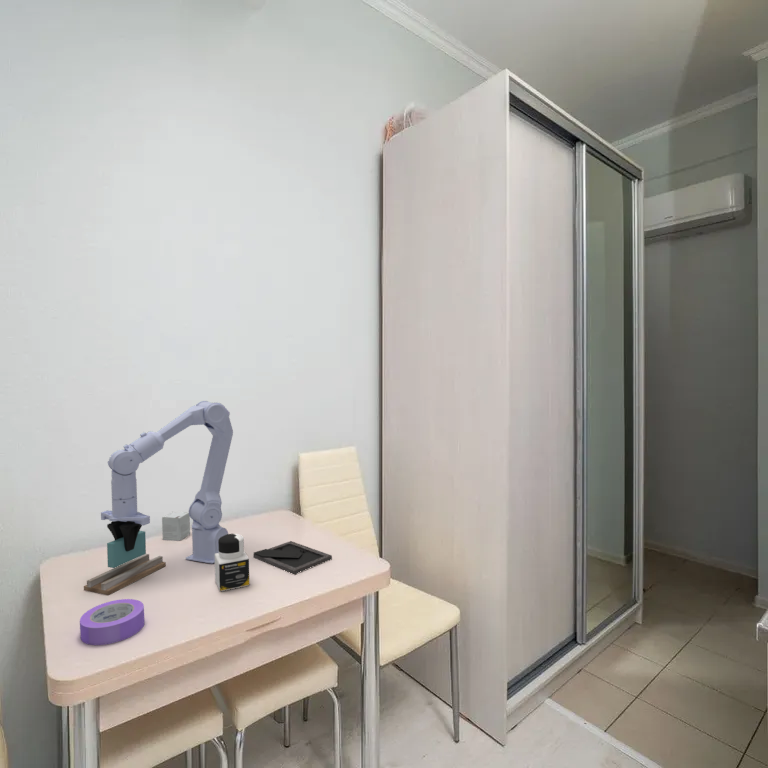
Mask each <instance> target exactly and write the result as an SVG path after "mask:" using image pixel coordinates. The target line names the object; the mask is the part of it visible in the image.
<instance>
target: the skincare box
mask: <svg viewBox="0 0 768 768" xmlns="http://www.w3.org/2000/svg"><path fill="white" fill-rule="evenodd" d="M190 519H191V517H190V516H189V511H188V512H185V511H171V512H169V513H168V514H166V515H164V516H162V518H161V526H162V528H161V529H162V530H161V531H162V540H163V541H177V542H179V541H182V540H183V539H185V538H186V537H188V536H189V535H191V525H190V524H191V521H190Z"/></svg>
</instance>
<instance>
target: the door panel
mask: <svg viewBox="0 0 768 768" xmlns="http://www.w3.org/2000/svg"><path fill="white" fill-rule="evenodd" d="M146 540H147V539H146V531H145V530H140V531H139V533H138V535H137V538H136V542H135V546H134V549H133V550H130V551H128V552H127V551H126V550H125V546H124V538H123V537H122V538H119V539H117V540H115V539H114V540H113V541H110V542H107V543H106V549H107V551H106V553H107V558H106V559H107V568H110V569H113V568H116V567H118V566H120V565H122V564H124V563H127V562H129V561H131V560H133V559H135V558H138V557H140V556H142V555H144V554H147V552H146V551H147V548H146V547H147V546H146V545H147V541H146Z"/></svg>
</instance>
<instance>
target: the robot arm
mask: <svg viewBox="0 0 768 768" xmlns="http://www.w3.org/2000/svg"><path fill="white" fill-rule="evenodd" d="M230 415H231V413H230V411H229V410H228V409H227V408H226V406H225V405H224V404H222V403H220V402H218V401H217V402H211V401H208V400H201V401H199V402H197V403H196V404H195V405H192V406H190V407H188V408H187V409H186V410H185V411H184V412H182V413H181V414H179V415H178V416H177V417H175V418H174V419H173V420H171V421H170V422H168V423H167V424H166V425H164V426H163V427H161V428H160V429H159V430H157V431H153V430H152V431H151V430H150V431H148V432H145V431H143V432H142V433H140V435H139V437H138V438H137V439H135V440H133V441H132V442H131V443H130V444H124V445H123V449H117V450H116V451H114V452H113V453H112V454H111V455H110V457H109V459H108V461H107V466H108V467H109V469H110V470H111V480H110V484H111V485H110V486H111V509H112V510H109V509H108V510H104V511H102V512H100V520H102V521H106V520H109V522H110V523H107V525H106V527H107V529H108V530H109V531H110V533H111V535H112V536H113V539H114V540H117V539H119V538H122V537H123V538H124V546H125V550H126V551H127V552H128V551H130V550H133V549H134V546H135V542H136V538H137V535H138V533H139V531H141V528H142V527H143V526H147V525H148V524H151V516H150V515H149V514H148V515H147V514H144V513H143V512H139V511H138V493H137V491H138V490H137V489H138V487H137V486H138V485H137V472H136V471H137V470H138V469H139V466H140V464H142V463H145V461H147V460H148V459H150V458H151V457H153V456H154V455H156V454H157V453H159V452H160V451H161V450H163V448H164V445H165V442H166V441H168V440H169V439H172V437H174V436H176V435H178V434H180V433H181V432H182V431H184V430H186V429H187V428H189V427H190V426H198V425H199V426H200V425H203V426H204V427H206V428H207V430H208V431H209V432H210V433H211V435H212V438H211V443H210V448H209V449H208V450H209V451H208V455H207V459H206V463H205V469H204V473H203V476H202V482H201V485H200V488H199V491H197V493H196V494H195V496H194V499H193V501H192V503H191V504H190V506H189V508H188V512H189V516H190V519H191V520H192V524H191V536H192V537H191V539H192V540H191V541H192V543H191V544H192V545H191V546H192V554H191V555H187V556H186V557H185V560H187V561H188V560H189V561H195V562H200V563H205V564H215V554H216V553H219V546H218V540H219V539H220V537H222V536H224V535H227V534H229V532H228V530H227V528H225V527H224V526H223V527H222V526H221V525H220V522H221V520H222V517H223V513H222V504H223V501H222V497H221V495H220V491H221V487H222V483H223V479H224V474H225V470H226V467H227V466H226V465H227V461H228V456H229V453H230V449H231V448H230V447H231V444H232V441H233V436H234V430H233V426H232V422H231V419H230Z"/></svg>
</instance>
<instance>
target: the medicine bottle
mask: <svg viewBox="0 0 768 768" xmlns="http://www.w3.org/2000/svg"><path fill="white" fill-rule="evenodd" d="M218 546H219V553H216V554H215V563H214V580H215V584H216V585H217V589H218V590H219V592H220V591H222V592H226V591H230V589H231V590H235V588H236V589H240V587H241V588H244V587H249V586H250V558H249V556H248V554H247V553H246V552H245V537H244V536H243V535H242V534H239V533H228V534H227V535H224V536H222V537H220V539H219V540H218ZM225 590H226V591H225Z"/></svg>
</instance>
